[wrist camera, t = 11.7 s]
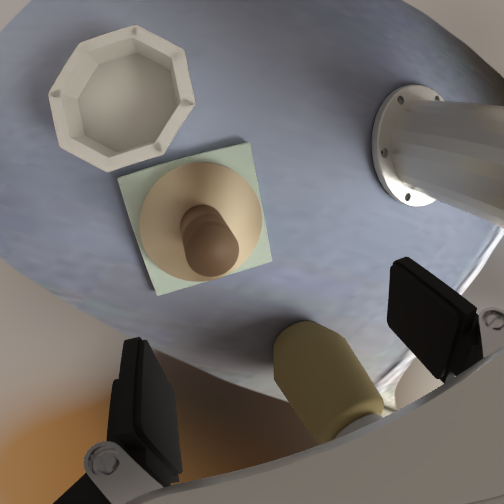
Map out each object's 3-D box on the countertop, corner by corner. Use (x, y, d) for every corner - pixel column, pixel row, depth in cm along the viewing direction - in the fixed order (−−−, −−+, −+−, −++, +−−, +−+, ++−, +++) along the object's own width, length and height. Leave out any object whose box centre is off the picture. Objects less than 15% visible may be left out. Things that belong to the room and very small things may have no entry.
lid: (248, 149, 22) (274, 158, 17) (267, 259, 26) (293, 294, 21) (125, 180, 21) (113, 199, 15) (160, 289, 25) (162, 333, 19)
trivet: (247, 142, 23) (249, 142, 22) (269, 257, 27) (272, 261, 26) (118, 177, 21) (117, 178, 20) (157, 291, 25) (157, 296, 25)
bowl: (173, 37, 18) (177, 15, 14) (195, 140, 22) (204, 143, 17) (65, 71, 17) (42, 58, 12) (88, 173, 20) (70, 185, 16)
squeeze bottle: (340, 308, 32) (450, 429, 16) (320, 365, 35) (401, 483, 19) (269, 311, 29) (368, 470, 14) (255, 373, 32) (323, 517, 16)
